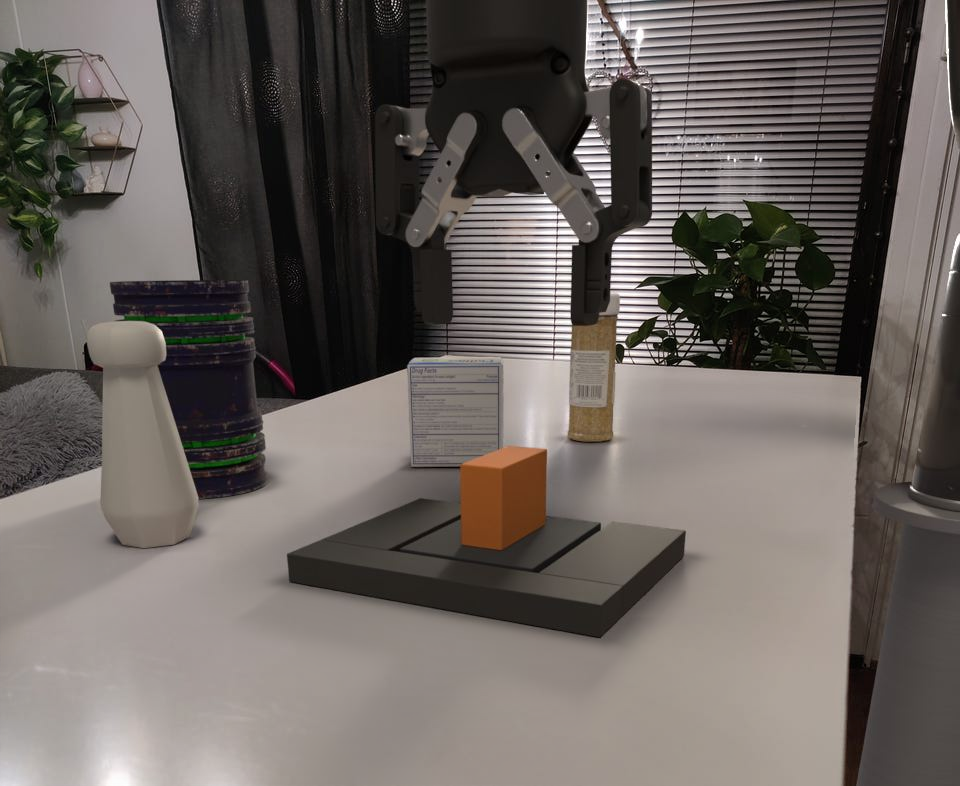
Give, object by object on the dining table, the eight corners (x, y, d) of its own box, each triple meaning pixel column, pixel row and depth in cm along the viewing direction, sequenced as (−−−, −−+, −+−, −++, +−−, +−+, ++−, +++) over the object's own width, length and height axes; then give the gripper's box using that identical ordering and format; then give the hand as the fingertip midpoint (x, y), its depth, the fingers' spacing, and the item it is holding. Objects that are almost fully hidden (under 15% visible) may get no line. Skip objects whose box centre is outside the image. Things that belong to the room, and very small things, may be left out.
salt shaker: (89, 540, 57) (49, 322, 52) (169, 521, 61) (140, 317, 56) (139, 557, 54) (102, 326, 49) (221, 536, 58) (194, 320, 53)
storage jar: (291, 474, 75) (274, 279, 69) (229, 503, 66) (203, 282, 60) (185, 468, 77) (160, 280, 71) (111, 495, 68) (76, 282, 63)
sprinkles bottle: (620, 437, 90) (628, 291, 85) (600, 444, 86) (607, 293, 81) (579, 433, 92) (584, 291, 87) (558, 440, 88) (562, 292, 83)
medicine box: (503, 458, 80) (504, 356, 77) (503, 468, 76) (503, 361, 73) (415, 458, 81) (411, 356, 77) (410, 468, 77) (406, 362, 73)
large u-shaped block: (420, 521, 61) (420, 497, 60) (684, 556, 53) (686, 530, 52) (288, 581, 49) (286, 553, 49) (600, 637, 42) (601, 605, 41)
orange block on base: (482, 532, 58) (482, 436, 56) (600, 547, 55) (605, 446, 52) (400, 576, 50) (395, 466, 48) (532, 598, 47) (534, 480, 44)
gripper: (683, -55, 41) (661, 321, 47) (415, -10, 47) (427, 318, 54) (629, -109, 35) (612, 332, 41) (329, -49, 41) (354, 327, 47)
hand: (508, 324), depth 47 cm, fingers open, 8 cm apart
